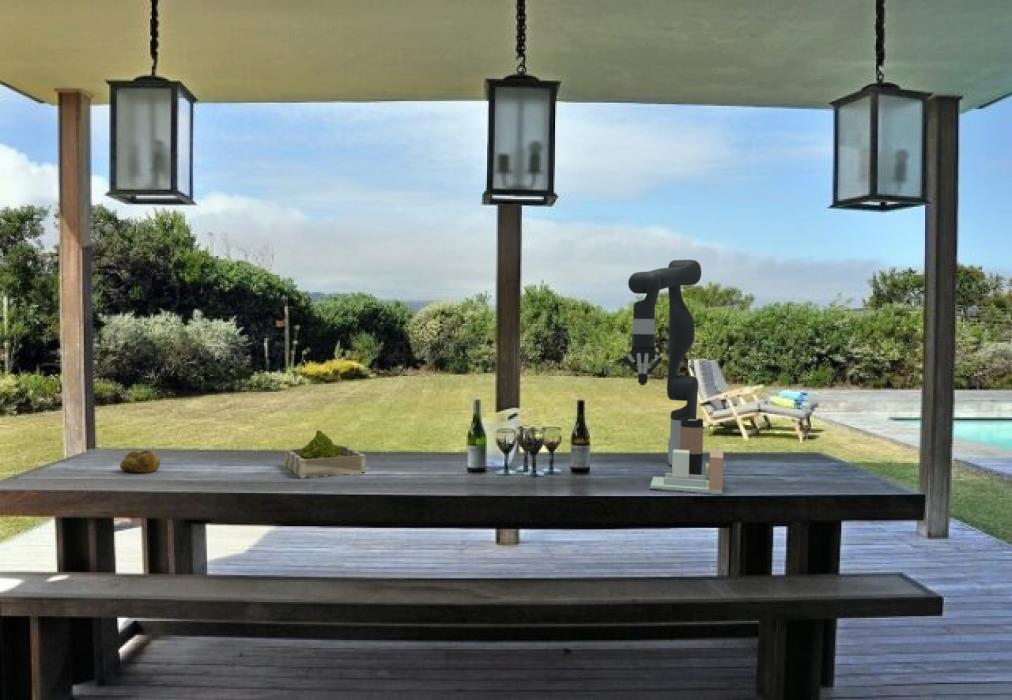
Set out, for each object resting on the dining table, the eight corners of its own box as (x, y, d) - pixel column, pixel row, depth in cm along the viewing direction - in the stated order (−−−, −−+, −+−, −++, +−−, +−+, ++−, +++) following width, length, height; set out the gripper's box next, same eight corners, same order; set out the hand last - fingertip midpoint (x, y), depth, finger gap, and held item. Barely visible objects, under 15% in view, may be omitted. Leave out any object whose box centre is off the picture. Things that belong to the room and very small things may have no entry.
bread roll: (113, 473, 265) (113, 449, 264) (133, 467, 274) (132, 445, 274) (147, 475, 262) (147, 451, 262) (166, 469, 272) (165, 446, 271)
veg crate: (285, 466, 280) (285, 449, 279) (345, 461, 290) (345, 445, 290) (300, 478, 259) (300, 460, 259) (365, 473, 270) (365, 455, 270)
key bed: (650, 490, 249) (650, 453, 249) (653, 481, 263) (654, 446, 262) (722, 495, 243) (723, 458, 243) (721, 485, 257) (722, 450, 256)
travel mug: (685, 480, 265) (687, 420, 264) (675, 475, 272) (676, 417, 272) (706, 479, 267) (707, 420, 266) (695, 474, 275) (696, 417, 274)
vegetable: (295, 464, 264) (304, 424, 271) (294, 480, 277) (304, 441, 284) (339, 471, 266) (347, 431, 274) (337, 487, 279) (345, 448, 287)
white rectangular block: (671, 483, 251) (672, 452, 251) (672, 479, 257) (673, 449, 257) (688, 484, 250) (688, 453, 249) (688, 480, 256) (689, 450, 255)
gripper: (664, 332, 263) (663, 384, 264) (624, 332, 267) (623, 383, 267) (663, 333, 256) (662, 386, 257) (622, 332, 259) (621, 385, 260)
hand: (642, 384), depth 262 cm, fingers closed
